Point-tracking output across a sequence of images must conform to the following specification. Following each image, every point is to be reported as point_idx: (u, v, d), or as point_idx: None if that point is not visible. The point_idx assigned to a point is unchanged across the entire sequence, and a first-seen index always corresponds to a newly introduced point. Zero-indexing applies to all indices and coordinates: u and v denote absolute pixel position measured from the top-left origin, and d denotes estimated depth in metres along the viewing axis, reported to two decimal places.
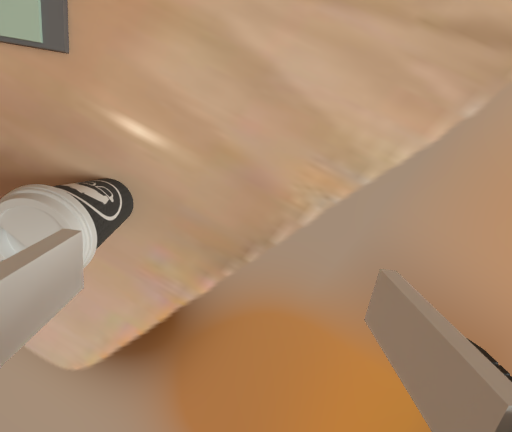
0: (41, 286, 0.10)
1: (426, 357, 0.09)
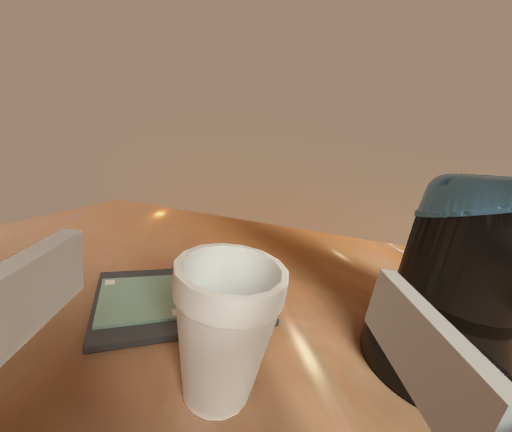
0: (41, 286, 0.10)
1: (426, 357, 0.09)
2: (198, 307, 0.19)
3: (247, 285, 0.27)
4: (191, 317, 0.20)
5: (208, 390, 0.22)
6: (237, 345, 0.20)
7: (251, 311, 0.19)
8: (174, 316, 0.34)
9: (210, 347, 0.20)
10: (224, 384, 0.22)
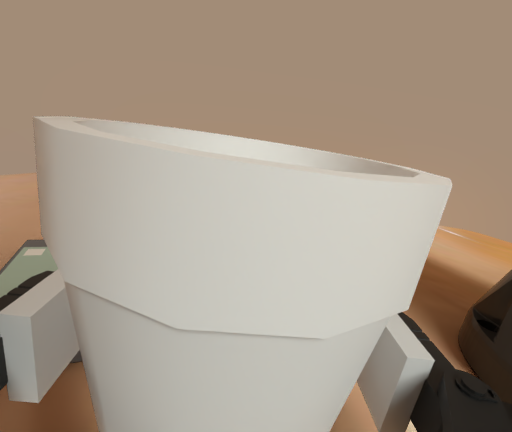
0: None
1: None
2: (101, 226, 0.04)
3: None
4: (79, 280, 0.04)
5: None
6: (282, 401, 0.05)
7: (365, 246, 0.04)
8: None
9: (171, 408, 0.05)
10: None
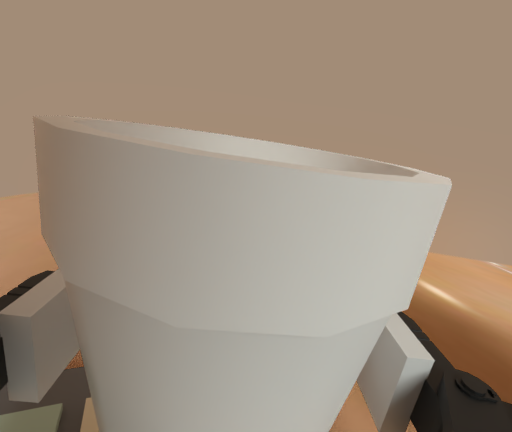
0: None
1: None
2: (101, 226, 0.04)
3: None
4: (80, 279, 0.04)
5: None
6: (282, 400, 0.05)
7: (365, 245, 0.04)
8: None
9: (171, 408, 0.05)
10: None
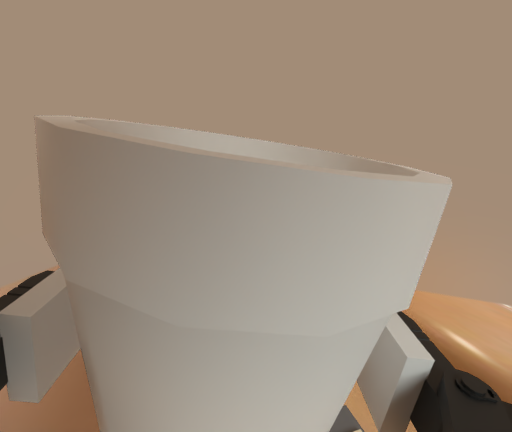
0: None
1: None
2: (102, 225, 0.04)
3: None
4: (81, 278, 0.04)
5: None
6: (283, 399, 0.05)
7: (366, 244, 0.04)
8: None
9: (172, 407, 0.05)
10: None
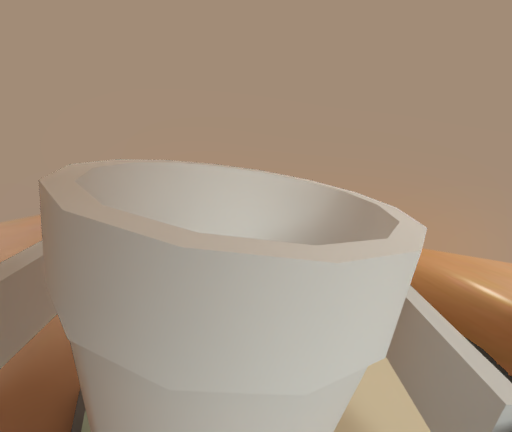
0: (43, 286, 0.10)
1: (425, 356, 0.09)
2: (101, 296, 0.04)
3: None
4: (81, 339, 0.05)
5: None
6: None
7: (338, 314, 0.04)
8: None
9: None
10: None
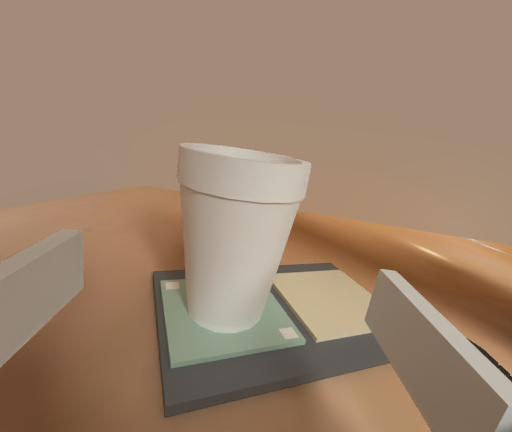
0: (41, 286, 0.10)
1: (426, 357, 0.09)
2: (208, 175, 0.17)
3: None
4: (200, 189, 0.17)
5: (218, 290, 0.19)
6: (253, 227, 0.18)
7: (271, 179, 0.16)
8: (288, 341, 0.21)
9: (222, 229, 0.18)
10: (237, 282, 0.19)
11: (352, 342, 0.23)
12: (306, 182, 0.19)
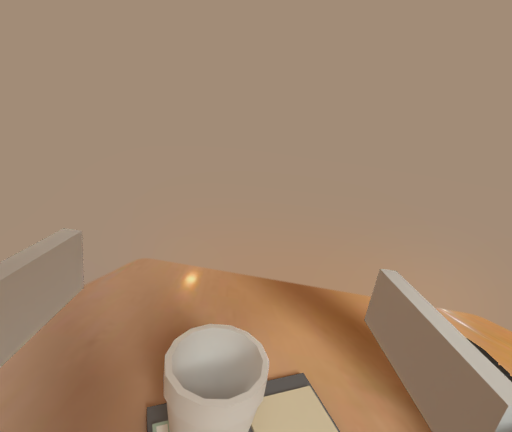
0: (41, 286, 0.10)
1: (426, 357, 0.09)
2: (185, 409, 0.22)
3: (233, 362, 0.30)
4: (179, 416, 0.22)
5: None
6: None
7: (231, 413, 0.22)
8: None
9: None
10: None
11: None
12: (263, 391, 0.24)
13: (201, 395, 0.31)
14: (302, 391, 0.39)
